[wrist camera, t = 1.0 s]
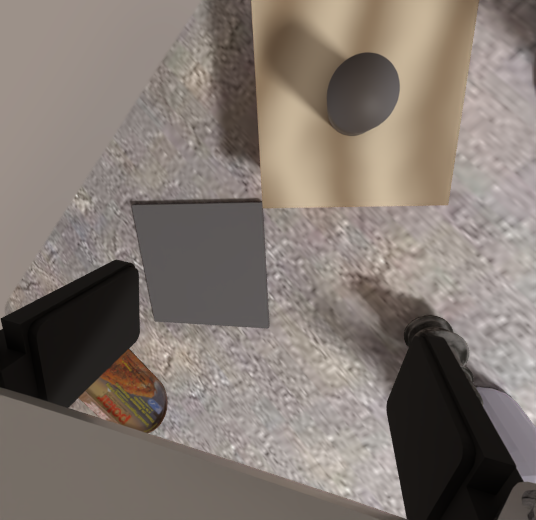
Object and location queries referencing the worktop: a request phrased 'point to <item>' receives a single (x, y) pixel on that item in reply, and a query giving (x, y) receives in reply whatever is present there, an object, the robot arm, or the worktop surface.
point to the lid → (360, 99)
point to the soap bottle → (512, 430)
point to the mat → (205, 262)
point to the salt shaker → (444, 330)
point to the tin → (128, 395)
